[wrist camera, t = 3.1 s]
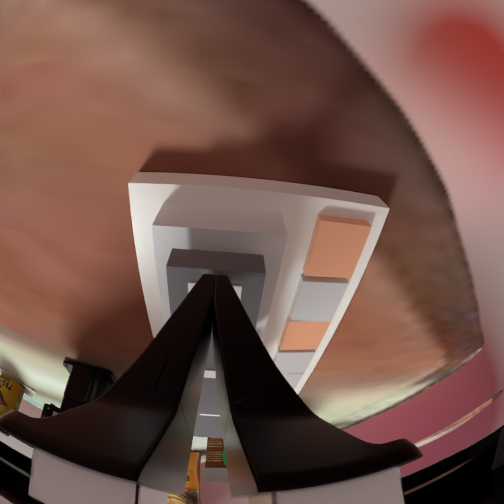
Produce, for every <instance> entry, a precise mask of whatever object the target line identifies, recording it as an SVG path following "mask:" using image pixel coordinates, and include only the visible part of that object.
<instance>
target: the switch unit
mask: <svg viewBox="0 0 504 504" xmlns="http://www.w3.org/2000/svg"><path fill="white" fill-rule="evenodd" d="M128 186H129V197H130V208H131V217H132V225H133V233H134V241H135V248H136V254H137V260H138V267H139V272H140V278H141V283H142V289H143V294H144V298H145V303H146V308H147V313H148V317H149V321H150V326H151V330H152V334H153V338H155V337H156V335H157V334H158V332H159V331H160V330H161V328H162V327H163V326H164V324H165V323H166V322H167V320H168V319H169V318H170V316H171V313H170V304H169V295H168V284H167V273H166V264H167V262H168V259H169V256H170V253H171V250H172V248H177V249H191V250H205V251H218V252H232V253H246V254H260V255H263V256H264V263H265V269H266V276H265V282H264V287H263V292H262V298H261V303H260V308H259V313H258V319H257V324H256V331H257V333H258V334H259V336H260V338H261V340H262V342H263V345H264V346H265V347H266V349H267V351H268V353H269V354H270V356H271V358H272V359H273V361H274V363H275V364H276V366H277V367H278V369H279V370H280V372H281V373H282V374H283V376H284V377H285V379H286V380H287V381H288V383H289V384H290V385H291V386H292V388H293V389H294V390H295V392H296V393H297V394H298V393H299V392H300V390H301V389H302V387H303V386H304V384H305V382H306V381H307V379H308V377H309V376H310V374H311V373H312V371H313V369H314V367H315V366H316V364H317V362H318V361H319V359H320V357H321V355H322V354H323V352H324V350H325V348H326V347H327V345H328V343H329V341H330V339H331V338H332V336H333V334H334V332H335V330H336V328H337V326H338V324H339V322H340V321H341V319H342V317H343V315H344V313H345V311H346V309H347V307H348V305H349V303H350V301H351V299H352V297H353V294H354V292H355V290H356V288H357V286H358V284H359V282H360V280H361V277H362V275H363V273H364V271H365V268H366V266H367V264H368V262H369V259H370V257H371V255H372V252H373V250H374V247H375V245H376V243H377V240H378V238H379V235H380V233H381V230H382V227H383V225H384V222H385V220H386V217H387V214H388V212H389V209H390V208H389V207H388V206H387V205H386V204H385V203H384V202H383V201H382V200H381V199H380V198H379V197H378V196H374V195H369V194H363V193H358V192H352V191H346V190H340V189H334V188H327V187H320V186H313V185H306V184H299V183H291V182H283V181H274V180H265V179H255V178H244V177H233V176H220V175H205V174H187V173H161V172H138V173H137V174H136V175H135V176H134V177H133V178H132V179H131V181H130V182H129V183H128Z"/></svg>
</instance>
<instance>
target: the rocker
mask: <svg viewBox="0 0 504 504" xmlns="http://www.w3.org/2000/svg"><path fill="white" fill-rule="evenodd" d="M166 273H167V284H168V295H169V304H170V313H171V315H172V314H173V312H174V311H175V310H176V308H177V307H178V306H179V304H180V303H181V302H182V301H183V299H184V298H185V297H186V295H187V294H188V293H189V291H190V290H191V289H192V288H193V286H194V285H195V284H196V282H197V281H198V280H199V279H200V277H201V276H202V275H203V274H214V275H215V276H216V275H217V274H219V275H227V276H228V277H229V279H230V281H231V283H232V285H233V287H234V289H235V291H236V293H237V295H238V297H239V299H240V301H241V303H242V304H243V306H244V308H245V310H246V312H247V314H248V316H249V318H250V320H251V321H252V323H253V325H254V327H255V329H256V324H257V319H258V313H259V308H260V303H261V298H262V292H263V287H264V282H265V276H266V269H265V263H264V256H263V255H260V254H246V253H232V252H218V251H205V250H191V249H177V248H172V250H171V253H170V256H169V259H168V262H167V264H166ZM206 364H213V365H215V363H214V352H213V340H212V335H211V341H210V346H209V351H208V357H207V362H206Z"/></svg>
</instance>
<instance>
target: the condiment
mask: <svg viewBox="0 0 504 504" xmlns="http://www.w3.org/2000/svg"><path fill="white" fill-rule="evenodd" d="M24 393H25V394H26V395H28V396H30V397H32V396H33V395H34V394H35V393H36V392H35V391H33V390H32V389H30V388H29V387H27V386H26V385H24V384H22V383H21V382H20V381H19V380H17V379H16V378H15V377H13V376H12V375H10V374H9V373H8V372H6V371H5V370H4V369H2V368H0V417H1V416H2V415H3V414H5V413H7V412H9V411H11V410H16V411H18V409H19V406H20V403H21V400H22V397H23V394H24ZM0 432H1V433H3V434H5V435H6V436H9V435H10V434H8V433H7V432H5V431H4V430H2V429H1V428H0Z"/></svg>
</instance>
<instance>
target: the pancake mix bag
mask: <svg viewBox="0 0 504 504" xmlns="http://www.w3.org/2000/svg"><path fill="white" fill-rule="evenodd" d="M200 460H201V453H200V452H191V453H190V459H189V465H188V471H187V478H186V484H185V491H184V495H182V494H174V493H168V502H167V504H201V502H200Z"/></svg>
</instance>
